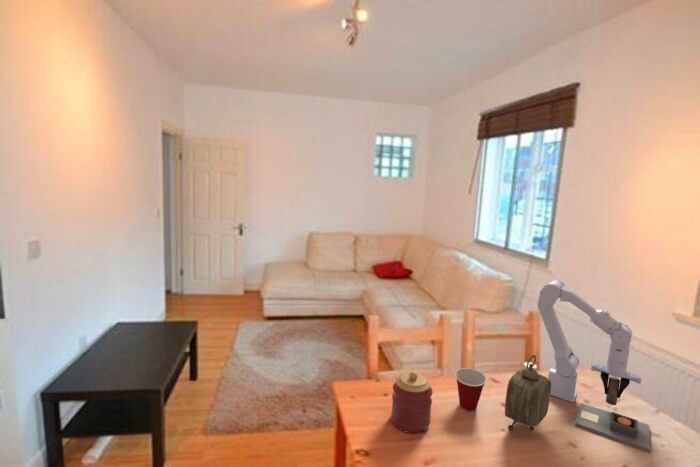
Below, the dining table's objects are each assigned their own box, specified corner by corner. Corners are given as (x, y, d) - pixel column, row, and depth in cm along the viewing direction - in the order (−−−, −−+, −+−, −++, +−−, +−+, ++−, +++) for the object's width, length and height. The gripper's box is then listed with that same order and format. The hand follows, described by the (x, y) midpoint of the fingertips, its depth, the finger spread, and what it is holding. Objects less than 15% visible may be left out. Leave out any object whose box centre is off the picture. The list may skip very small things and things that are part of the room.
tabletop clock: (520, 412, 135) (527, 345, 131) (547, 424, 129) (556, 354, 125) (502, 430, 125) (509, 358, 121) (530, 444, 119) (539, 368, 115)
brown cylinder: (605, 402, 137) (608, 379, 136) (606, 398, 140) (609, 375, 138) (616, 406, 135) (619, 382, 134) (616, 402, 138) (620, 378, 136)
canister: (434, 416, 131) (437, 368, 128) (424, 439, 119) (428, 386, 116) (397, 406, 136) (400, 359, 133) (385, 426, 124) (388, 376, 122)
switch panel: (574, 425, 129) (576, 415, 128) (580, 405, 141) (581, 396, 140) (649, 452, 117) (651, 441, 116) (648, 427, 129) (650, 418, 128)
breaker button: (617, 423, 126) (617, 420, 126) (617, 418, 129) (617, 415, 129) (630, 428, 124) (630, 425, 124) (630, 422, 127) (631, 419, 126)
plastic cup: (450, 411, 134) (453, 379, 132) (454, 395, 144) (456, 365, 142) (483, 419, 130) (486, 386, 128) (484, 402, 140) (487, 371, 138)
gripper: (592, 356, 136) (587, 392, 138) (643, 370, 127) (637, 407, 129) (594, 350, 142) (589, 384, 144) (643, 362, 133) (637, 398, 135)
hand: (612, 394), depth 137 cm, fingers closed on brown cylinder, 3 cm apart
